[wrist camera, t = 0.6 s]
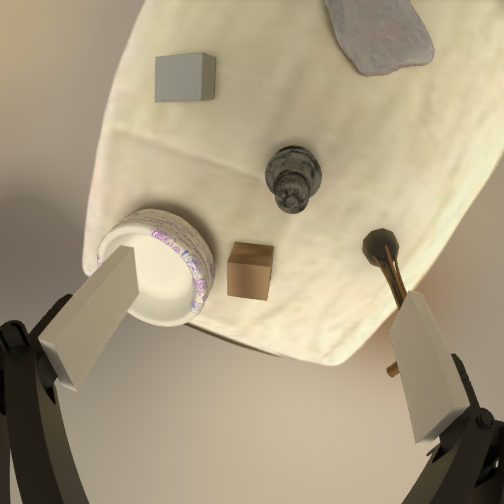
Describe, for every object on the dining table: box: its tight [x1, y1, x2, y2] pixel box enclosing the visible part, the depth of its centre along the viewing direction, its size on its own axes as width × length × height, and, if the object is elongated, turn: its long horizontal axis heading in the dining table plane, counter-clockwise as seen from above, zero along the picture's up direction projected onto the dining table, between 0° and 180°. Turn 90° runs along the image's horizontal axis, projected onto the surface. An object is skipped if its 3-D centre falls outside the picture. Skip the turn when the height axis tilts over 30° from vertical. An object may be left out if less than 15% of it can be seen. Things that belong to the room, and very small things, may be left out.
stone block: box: [325, 0, 435, 76], centre depth 23 cm, size 12×5×10 cm
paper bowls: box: [97, 209, 215, 326], centre depth 38 cm, size 15×15×8 cm
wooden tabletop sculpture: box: [363, 228, 407, 377], centre depth 28 cm, size 6×5×20 cm
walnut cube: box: [227, 242, 274, 301], centre depth 39 cm, size 5×5×5 cm
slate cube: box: [155, 53, 216, 102], centre depth 28 cm, size 5×5×5 cm
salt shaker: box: [265, 146, 322, 214], centre depth 28 cm, size 6×6×12 cm
